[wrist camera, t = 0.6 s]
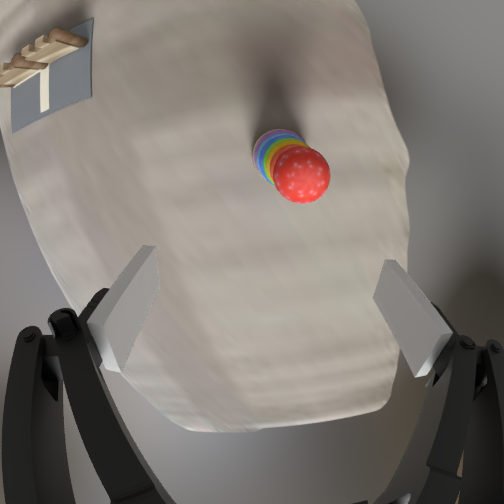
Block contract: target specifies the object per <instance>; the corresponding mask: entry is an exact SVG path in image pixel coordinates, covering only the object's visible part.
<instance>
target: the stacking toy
mask: <svg viewBox="0 0 504 504" xmlns="http://www.w3.org/2000/svg"><path fill="white" fill-rule="evenodd" d="M252 158H253V163H254V166H255V168H256V170H257V171H258V173H259V174H260V175H261V176H262V177H263V178H265V179H266V180H267V181H269V182H270V183H272V184H273V185H275V186H276V188H277V190H278V191H279V192H280V194H281V195H282V196H284V197H285V198H286V199H288V200H290V201H292V202H296V203H309V202H312V201H315V200H316V199H318V198H320V197H321V196H322V195H323V194H324V193H325V191H326V190H327V188H328V185H329V182H330V169H329V166H328V163H327V162H326V160H325V158H324V157H323V156H322V155H321V154H320V153H319V152H317V151H315V150H314V149H311V148H310V147H309V146H308V145H307V144H306V143H305V141H304V140H303V139H302V138H301V137H300V136H299V135H297V134H296V133H294V132H292V131H290V130H286V129H273V130H270V131H267V132H266V133H264V134H263V135H262V136H260V137H259V139H258V140H257V141H256V143H255V145H254V148H253V153H252Z"/></svg>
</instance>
